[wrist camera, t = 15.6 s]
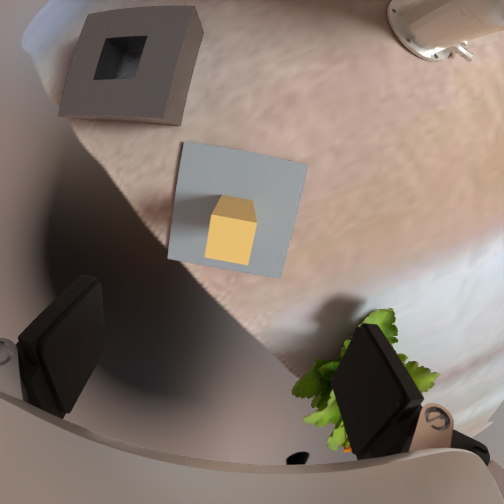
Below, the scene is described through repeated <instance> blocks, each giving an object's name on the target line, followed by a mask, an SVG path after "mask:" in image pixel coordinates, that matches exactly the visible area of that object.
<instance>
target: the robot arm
mask: <svg viewBox="0 0 504 504" xmlns="http://www.w3.org/2000/svg"><path fill="white" fill-rule="evenodd" d="M387 17H388V21H389V24H390V26H391V28H392V30H393V32H394V33H395V35H396V36H397V38H398V39H399V40H400V41H401V43H402V44H403V45H404V46H405V47H406V48H407V49H409V50H410V51H411V52H412V53H414V54H415V55H417V56H418V57H420V58H422V59H424V60H428V61H432V62H437V61H441V60H444V59H446V58H447V57H448V56H449V54H450V52H451V51H452V52H454V53H458V54H459V55H460V56H461V57H463V58H464V59H466V60H467V61H469V62H470V61H471V60H472V59H473V54H472V53H471V52H469V51H468V50H467V49H465V48H463V47H462V46H461V44H462V45H463V46H465V45H466V44H467V41H469V40H472V39H475V38H478V37H481V36H484V35H488V34H491V33H494V32H498V31H502V30H504V0H392V1H391V2H390V3H389V5H388V7H387ZM18 340H19V342H18V343H17V344H16V345H15V344H14V342H12V341H11V340H9V339H6V338H0V504H504V469H503V468H502V467H501V466H499V465H498V464H497V463H496V462H495V461H493V460H491V461H490V455H489V452H488V449H487V447H486V446H485V445H483V444H482V443H480V442H478V441H476V440H474V439H472V438H470V437H468V436H466V435H464V434H462V433H460V432H458V431H456V430H454V429H453V427H454V420H453V418H452V415H451V414H450V412H449V411H448V410H447V409H446V408H444V407H443V406H441V405H438V404H435V403H430V404H426V405H425V406H424V407H422V406H421V403H422V401H423V400H424V398H423V396H422V394H421V392H420V391H419V389H418V387H417V386H416V384H415V382H414V381H413V379H412V377H411V376H410V374H409V372H408V371H407V369H406V368H405V366H404V364H403V363H402V361H401V360H400V358H399V356H398V355H397V353H396V352H395V350H394V349H393V347H392V345H391V344H390V342H389V341H388V339H387V338H386V336H385V335H384V333H383V332H382V330H381V329H380V327H379V326H378V325H377V324H369V323H363V324H362V325H361V326H360V327H357V328H356V330H355V332H354V334H353V336H352V339H351V341H350V343H349V345H348V347H347V349H346V351H345V353H344V355H343V358H342V360H341V362H340V364H339V366H338V368H337V370H336V372H335V373H334V375H333V378H332V382H331V384H332V389H333V392H334V395H335V398H336V401H337V404H338V407H339V411H340V414H341V417H342V420H343V424H344V427H345V430H346V434H347V437H348V440H349V444H350V447H351V450H352V453H353V454H356V456H357V459H358V460H357V461H350V462H340V463H329V464H313V465H255V464H241V463H230V462H221V461H212V460H204V459H198V458H192V457H186V456H181V455H176V454H171V453H166V452H161V451H157V450H153V449H149V448H145V447H141V446H137V445H133V444H130V443H127V442H123V441H120V440H117V439H114V438H111V437H108V436H105V435H102V434H99V433H96V432H94V431H91V430H88V429H86V428H83V427H81V426H78V425H75V424H73V423H70V422H68V421H65V420H63V418H64V416H65V414H66V413H70V412H71V411H72V408H73V407H74V405H75V403H76V401H77V399H78V397H79V395H80V394H81V392H82V390H83V388H84V386H85V385H86V383H87V381H88V379H89V377H90V376H91V374H92V372H93V370H94V369H95V367H96V365H97V363H98V362H99V360H100V358H101V357H102V355H103V353H104V351H105V349H106V346H107V339H106V331H105V322H104V312H103V299H102V286H101V284H100V283H98V280H97V279H96V278H94V277H90V276H86V275H81V276H80V277H79V278H78V279H76V280H75V281H74V282H73V283H72V284H71V285H70V286H69V287H68V288H67V289H65V290H64V291H63V292H62V293H61V294H60V295H59V296H58V297H57V298H56V299H55V300H54V301H53V302H52V303H51V304H50V305H49V306H48V307H47V308H46V309H45V310H44V311H43V312H42V313H41V314H40V315H39V316H38V317H37V318H36V319H35V320H34V321H33V322H32V323H31V324H30V325H29V326H28V327H27V328H26V329H25V330H24V331H23V332H22V333H21V334H20V335H19V336H18ZM489 461H490V462H489Z"/></svg>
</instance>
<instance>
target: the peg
mask: <svg viewBox="0 0 504 504" xmlns="http://www.w3.org/2000/svg"><path fill="white" fill-rule="evenodd" d="M256 226H257V219H256V214H255V209H254V203H253V200H248V199H243V198H238V197H232V196H227V195H222V196H221V198H220V199H219V201H218V203H217V205H216V207H215V209H214V211H213V212H212V214H211V220H210V226H209V232H208V238H207V244H206V251H205V258H210V259H216V260H221V261H227V262H232V263H238V264H243V265H248V263H249V259H250V254H251V249H252V245H253V240H254V236H255V231H256Z"/></svg>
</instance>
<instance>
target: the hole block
mask: <svg viewBox="0 0 504 504" xmlns="http://www.w3.org/2000/svg"><path fill="white" fill-rule="evenodd" d="M203 34H204V31H203V28H202V25H201V22H200V20H199V17H198V14H197V11H196V8H195V6H152V7H137V8H127V9H118V10H111V11H104V12H98V13H93V14H88V16H87V19H86V21H85V24H84V26H83V29H82V31H81V34H80V37H79V40H78V43H77V46H76V49H75V52H74V55H73V58H72V61H71V65H70V68H69V72H68V75H67V79H66V83H65V87H64V91H63V96H62V100H61V105H60V111H59V116H62V117H70V118H78V119H86V120H109V121H130V122H145V123H157V124H167V125H177V126H181V121H182V117H183V112H184V107H185V103H186V98H187V94H188V90H189V86H190V82H191V78H192V74H193V70H194V66H195V62H196V59H197V55H198V51H199V48H200V44H201V41H202V38H203Z"/></svg>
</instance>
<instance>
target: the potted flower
mask: <svg viewBox="0 0 504 504" xmlns="http://www.w3.org/2000/svg"><path fill="white" fill-rule="evenodd" d="M394 315H395V313H394V311H393V309H392V308H389V309H380V310H375V311H373V312H371V313H369V316H368V317H366V318H365V319H364V321H363V322H362V323H361V324H360V325H358V327H360V326H361V325H362V324H363V323H369V324H377V325H378V326H379V327H380V329H381V330H382V332H383V333H384V335H385V336H386V338H387V339H388V341H389V342H390V344H391V345H392V343H395V342H398V339H397V338H396V337H393V336H397V335H398V334H397V333H398V329H397V327H396V326H395V325H394V322H395V320H396V318H395V317H394ZM350 337H351V339H352V336H350ZM350 341H351V340H345V341H344V345H345V346H344V347H341V348H342V349H341V350H340V351H341V354H340V355H339V356H337V357H336V358H335V359H334V360H333V361H331V360H327V361H326V362H325V360H323V359H319V358H317V359H316V361H315V363H314V364H313V366H312V369H311V370H310V371H309V372H308V373H307V374H306V375H304V376H303V377H302V378H301V379H300V380H298V381H297V382H296V384H295V386H294V387H293V389H292V394H293V395H295V396H296V397H301V398H305V397H307V398H311V397H313V396H314V395H315V397H314V398H313V400H312V403H311V406H312V408H314V407H317V408H319V409H317V411H316V412H314V413H312V414H310V415H308V416H306V417H304V418H303V422H304V423H307V424H308V423H310V425H313V424H314V423H315V422H316V426H317V427H318V428H320V427H323V426H325V424H326V425H328V423H329V419H330V422H331V423H332V424H336V426H335V427H334V429H333V432H332V434H331V435H330V437H329V438H328V439H327V446H328V447H329V449H330V450H331V449H332V450H333V451H336V450H337V449H338V444H339V445H340V446H341V445H342V447H344V450H343V452H346V451H347V452H350V451H352V450H351V447H350V444H349V440H348V437H347V434H346V430H345V427H344V424H343V420H342V417H341V414H340V411H339V407H338V404H337V401H336V398H335V395H334V392H333V389H332V384H331V382H332V378H333V375H334V373H335V372H336V370H337V368H338V366H339V364H340V362H341V360H342V358H343V355H344V353H345V351H346V349H347V347H348V345H349V343H350ZM392 347H393V346H392ZM395 352H396V351H395ZM397 355H398V356H399V358H400V360H401V361H403V362H402V363H403V364H404V366H405V368H406V369H407V371H408V372H409V374H410V376H411V377H412V379H413V381H414V382H415V384H416V386H417V387H418V389H419V391H420V392H421V394H422V392H427V391H428V388H432V387H433V386H434V382H432V381H435V380H436V378H438V377H439V375H440V373H437V372H433V373H431V370H430V369H429V368H424V366H421V367H419V368H418V366H419V363H418V362H416V361H412V362H411V361H409V362H408V363H407V364H405V363H404V362H405V360H406V359H408V357H407V356H406V355H403V354H397Z"/></svg>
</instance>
